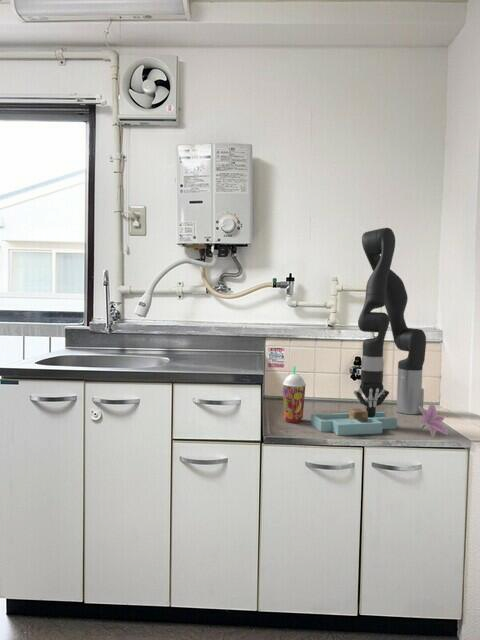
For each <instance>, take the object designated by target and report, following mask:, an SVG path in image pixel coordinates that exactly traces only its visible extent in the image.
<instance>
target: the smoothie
mask: <svg viewBox="0 0 480 640" xmlns="http://www.w3.org/2000/svg"><path fill="white" fill-rule="evenodd" d="M305 382H306V381H305V380H304V379H303V377H302V376H300V375H299V374H297V373H296V366H295V365H294V366H293V373H291V374H289V375H287V376H286V377H285V378H284V381H283V382H282V401H283V418H284V421H285V422H286V423H292V424H297V423H301V422H302V420H303V419H304V418H303V417H304V409H305V407H304V406H305V398H306V397H305V394H306V385H307V384H306V383H305Z"/></svg>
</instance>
